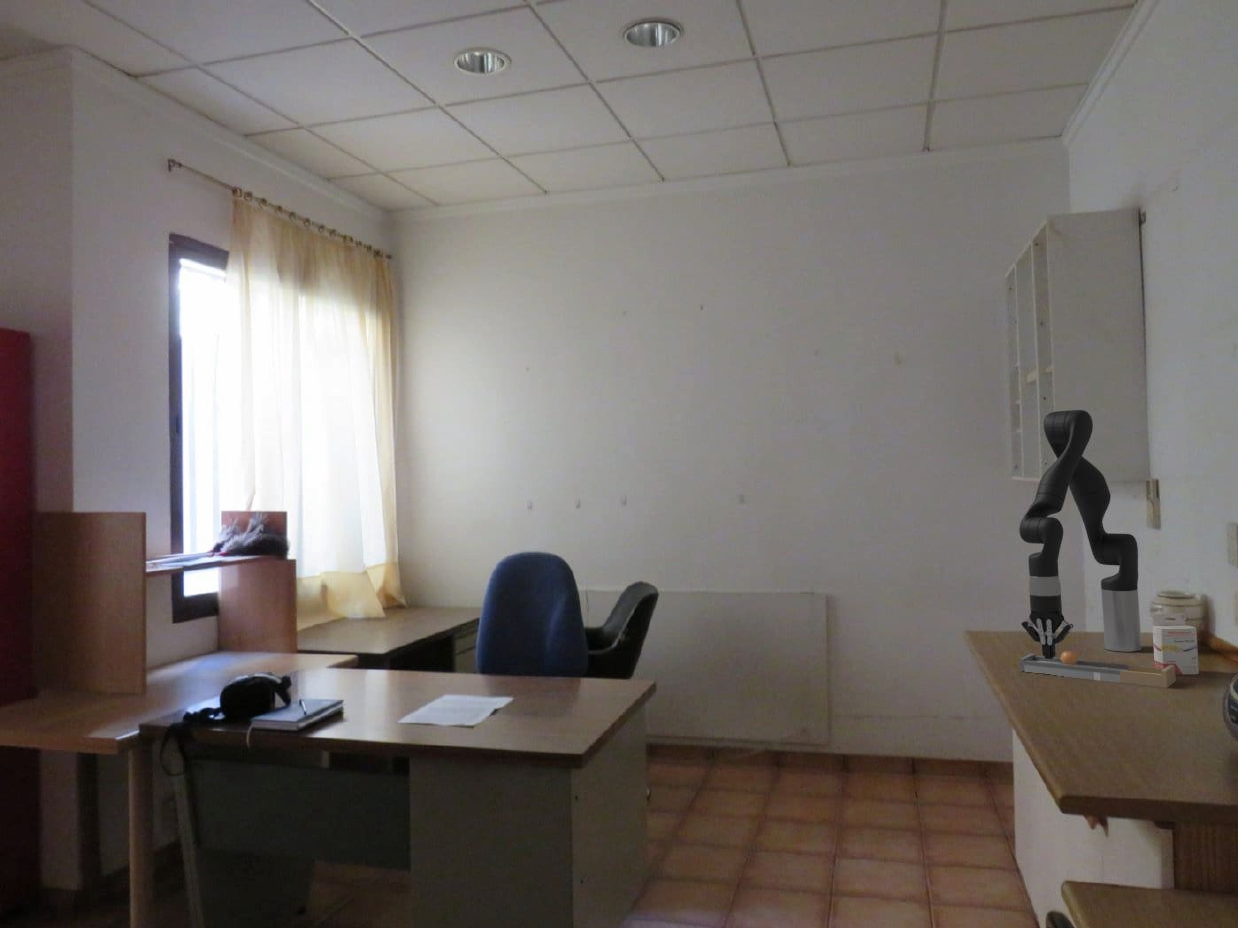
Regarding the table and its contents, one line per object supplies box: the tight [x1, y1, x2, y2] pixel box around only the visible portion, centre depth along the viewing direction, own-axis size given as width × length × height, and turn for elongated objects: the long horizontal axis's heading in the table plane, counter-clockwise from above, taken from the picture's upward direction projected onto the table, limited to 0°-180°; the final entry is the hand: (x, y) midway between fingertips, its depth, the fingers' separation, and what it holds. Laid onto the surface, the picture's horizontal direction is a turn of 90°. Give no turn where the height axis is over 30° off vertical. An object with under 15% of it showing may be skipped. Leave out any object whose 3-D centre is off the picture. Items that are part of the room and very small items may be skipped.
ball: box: [1060, 650, 1079, 665], centre depth 233 cm, size 4×4×4 cm
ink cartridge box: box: [1152, 612, 1200, 676], centre depth 228 cm, size 9×5×15 cm, turn 84°
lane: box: [1019, 653, 1176, 689], centre depth 228 cm, size 8×34×4 cm, turn 45°
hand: (1049, 658), depth 236 cm, fingers closed
